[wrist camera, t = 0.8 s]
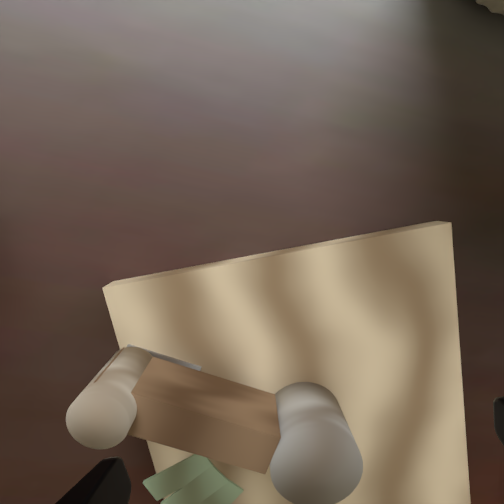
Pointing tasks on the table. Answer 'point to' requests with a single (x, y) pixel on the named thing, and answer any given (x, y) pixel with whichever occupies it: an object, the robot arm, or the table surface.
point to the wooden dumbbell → (223, 423)
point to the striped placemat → (319, 356)
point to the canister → (493, 5)
